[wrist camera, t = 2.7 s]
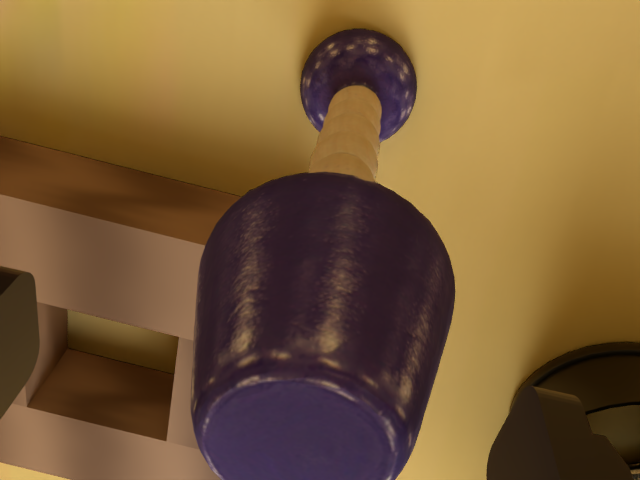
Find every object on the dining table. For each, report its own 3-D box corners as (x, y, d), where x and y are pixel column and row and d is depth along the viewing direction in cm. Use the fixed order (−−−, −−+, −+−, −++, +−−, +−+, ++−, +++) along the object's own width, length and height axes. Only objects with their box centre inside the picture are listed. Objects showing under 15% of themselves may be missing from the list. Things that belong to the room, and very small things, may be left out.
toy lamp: (306, 4, 21) (101, 293, 7) (441, 20, 21) (517, 355, 7) (297, 134, 23) (135, 539, 9) (417, 149, 23) (434, 590, 9)
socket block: (328, 218, 25) (316, 273, 22) (265, 457, 34) (250, 523, 30) (-46, 124, 25) (-117, 164, 22) (-14, 388, 34) (-61, 447, 30)
